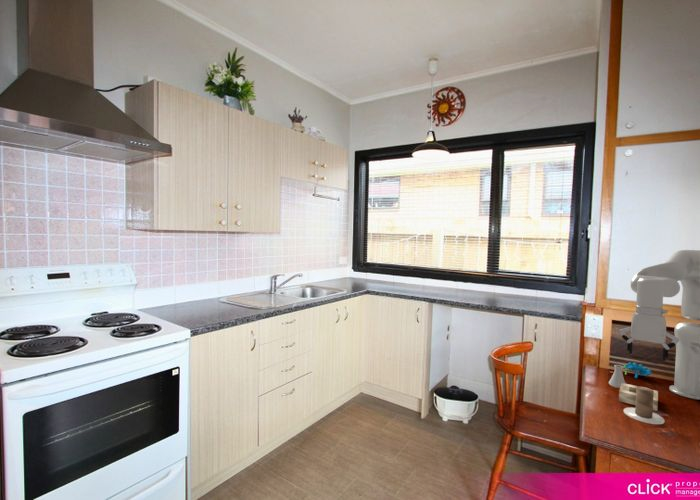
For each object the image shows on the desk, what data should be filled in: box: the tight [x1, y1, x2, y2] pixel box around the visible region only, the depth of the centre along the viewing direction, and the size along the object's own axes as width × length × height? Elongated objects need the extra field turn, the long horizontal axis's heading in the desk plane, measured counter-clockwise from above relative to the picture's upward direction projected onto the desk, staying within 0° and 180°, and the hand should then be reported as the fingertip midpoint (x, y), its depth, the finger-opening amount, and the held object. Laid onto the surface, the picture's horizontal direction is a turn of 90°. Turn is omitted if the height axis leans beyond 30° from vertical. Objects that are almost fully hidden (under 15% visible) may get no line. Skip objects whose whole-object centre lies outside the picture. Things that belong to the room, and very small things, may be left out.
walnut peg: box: [634, 386, 654, 419], centre depth 133 cm, size 5×5×10 cm
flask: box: [608, 364, 627, 389], centre depth 161 cm, size 7×7×10 cm
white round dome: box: [623, 407, 666, 425], centre depth 133 cm, size 12×12×1 cm
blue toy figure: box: [622, 362, 652, 379], centre depth 173 cm, size 11×6×10 cm
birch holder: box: [618, 382, 659, 412], centre depth 145 cm, size 12×12×5 cm
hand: (646, 355), depth 132 cm, fingers open, 9 cm apart
